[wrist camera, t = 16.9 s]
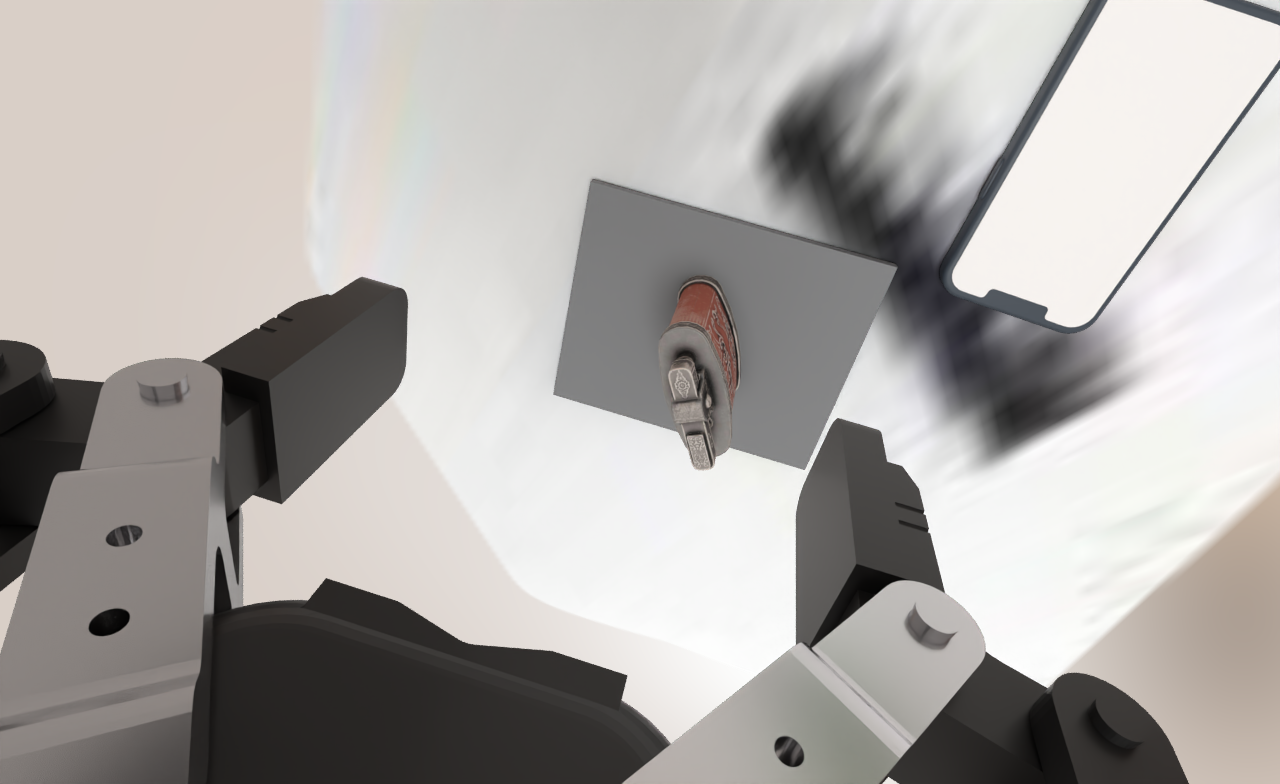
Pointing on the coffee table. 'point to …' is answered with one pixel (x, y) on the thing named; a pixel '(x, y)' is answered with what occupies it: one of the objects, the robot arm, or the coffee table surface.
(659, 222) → the rubber mat
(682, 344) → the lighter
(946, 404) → the coffee table surface
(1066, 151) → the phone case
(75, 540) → the robot arm
